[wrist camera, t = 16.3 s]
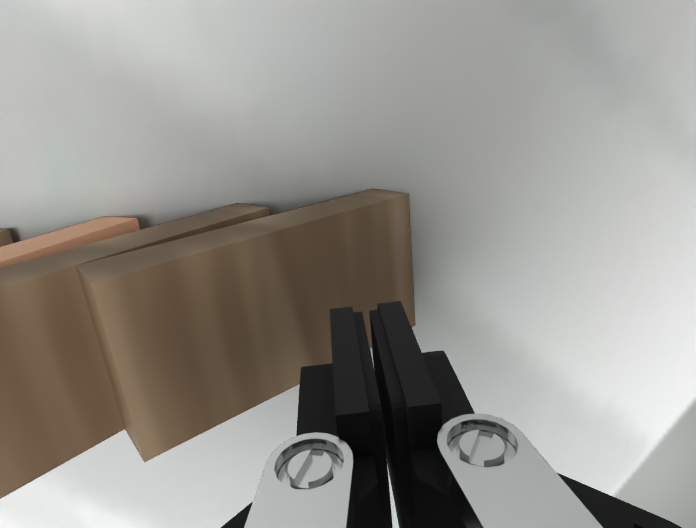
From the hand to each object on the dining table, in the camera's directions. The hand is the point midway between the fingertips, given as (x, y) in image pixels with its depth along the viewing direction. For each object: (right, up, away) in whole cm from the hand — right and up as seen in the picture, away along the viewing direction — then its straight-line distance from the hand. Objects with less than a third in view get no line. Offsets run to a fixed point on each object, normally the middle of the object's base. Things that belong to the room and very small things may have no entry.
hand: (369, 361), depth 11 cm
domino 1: (-4, +2, +7) cm, 8 cm away
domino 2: (+1, +3, +7) cm, 7 cm away
